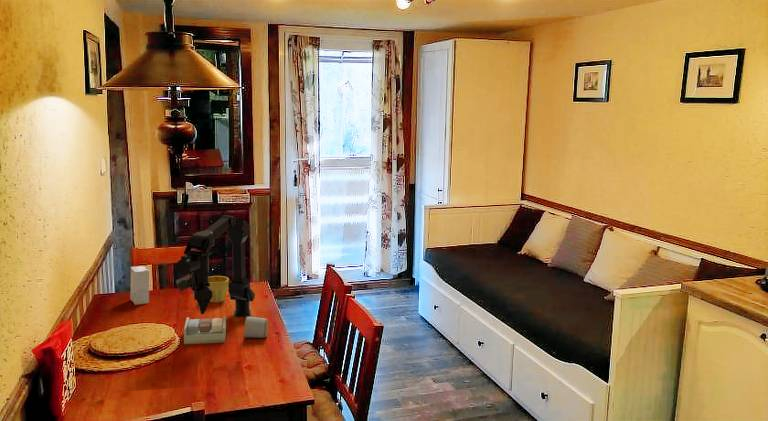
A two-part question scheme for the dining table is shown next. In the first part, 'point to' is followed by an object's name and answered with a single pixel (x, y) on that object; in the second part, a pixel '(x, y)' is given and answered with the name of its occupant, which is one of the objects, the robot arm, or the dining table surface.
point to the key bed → (204, 335)
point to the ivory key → (217, 324)
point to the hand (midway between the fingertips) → (201, 310)
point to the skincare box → (139, 285)
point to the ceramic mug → (256, 327)
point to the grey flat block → (193, 325)
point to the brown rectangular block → (205, 325)
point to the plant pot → (218, 288)
